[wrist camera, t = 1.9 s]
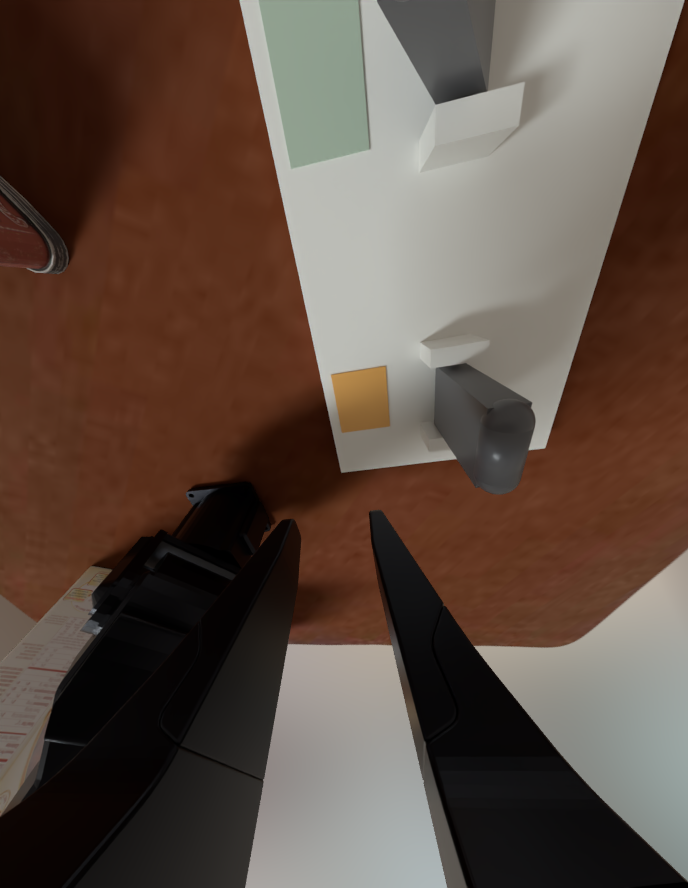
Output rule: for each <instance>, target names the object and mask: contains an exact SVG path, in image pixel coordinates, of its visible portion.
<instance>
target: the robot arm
mask: <svg viewBox="0 0 688 888" xmlns="http://www.w3.org/2000/svg"><path fill="white" fill-rule="evenodd" d="M246 487H247V488H246ZM186 496H187V498H188V499H189V501H190V502H191V504H192V505H193V507H192V508H191V510H190V511H189V512H188V514H187V515H186V516H185V518H184V519H183V521H182V522H181V523H180V525H179V526H178V527H177V529H176V530H175V531H174V533H173V534H172V536H171V535H169V534H167V533H168V532H166V531H164V530H162V529H161V530H160V531H159V532H158V533H157V535H156V536H155V537H153V536H151V537H141V538H140V539H139V540H138V542H137V543H136V544H135V545H134V546H133V547H132V549H131V550H130V551H129V552H128V553H127V554H126V556H125V557H124V558H123V559H122V560H121V561H120V562H119V563H118V565H117V566H116V567H115V568H114V569H113V570H112V571H111V572H110V573H109V575H108V576H107V577H106V578H105V579H104V580H103V581H102V582H101V583H100V585H99V586H98V587H97V588H96V589H95V590H94V592H93V593H92V594H91V596H92V606H93V608H92V610H91V611H90V612H89V613H88V615H91V617H90V618H89V620H88V621H87V622H86V623H85V625H84V626H83V627H82V629H81V630H80V631H82V632H85V633H88V634H93V635H92V636H91V637H90V639H89V640H88V641H87V643H86V644H85V645H84V647H83V648H82V649H81V651H80V652H79V653H78V655H77V656H76V657H75V659H74V661H73V662H72V664H71V666H70V667H69V669H68V671H67V672H66V674H65V676H64V678H63V679H62V681H61V683H60V684H59V686H58V688H57V690H56V693H55V697H54V701H53V705H52V710H51V714H50V717H49V721H48V724H47V728H46V732H45V735H44V745H43V749H42V753H41V758H40V760H39V761H38V763H37V764H36V766H35V767H34V769H33V770H32V771H31V773H30V774H29V776H28V777H27V779H26V780H25V781H24V783H23V784H22V786H21V787H20V789H19V790H18V792H17V793H16V794H15V796H14V797H13V799H12V800H11V802H10V803H9V805H8V806H7V807H6V809H5V810H4V812H3V813H2V815H1V816H0V888H245V885H246V879H247V873H248V867H249V862H250V857H251V851H252V845H253V839H254V833H255V828H256V822H257V817H258V810H259V805H260V800H261V794H262V788H263V779H264V776H265V770H266V764H267V759H268V753H269V747H270V742H271V736H272V730H273V725H274V719H275V713H276V708H277V702H278V696H279V691H280V685H281V679H282V673H283V668H284V662H285V656H286V651H287V645H288V639H289V634H290V628H291V622H292V617H293V611H294V605H295V600H296V594H297V587H298V577H299V562H300V548H301V535H300V532H299V530H298V527H297V524H296V522H295V520H294V519H286V520H282V521H281V522H280V523H279V524H278V525H277V527H276V528H275V529H274V530H273V531H272V533H271V534H270V535H269V536H268V537H267V539H266V540H265V541H264V542H263V544H262V545H261V546H260V547H259V545H260V543H261V540H262V537H263V534H264V532H267V531H269V530H270V528H271V524H270V522H269V518H268V516H267V514H266V511H265V509H264V507H263V505H262V503H261V501H260V500H259V498H258V496H257V494H256V492H255V490H254V488H253V486H252V484H250V483H248V482H243V483H235V484H226V485H218V486H210V487H202V488H193V489H189V490H188V491H187V493H186ZM369 519H370V532H371V542H372V549H373V555H374V561H375V567H376V573H377V579H378V585H379V589H380V594H381V598H382V602H383V607H384V611H385V616H386V620H387V624H388V629H389V633H390V638H391V642H392V646H393V651H394V655H395V659H396V664H397V668H398V672H399V677H400V682H401V686H402V690H403V694H404V699H405V703H406V708H407V712H408V717H409V721H410V725H411V729H412V734H413V739H414V743H415V747H416V752H417V756H418V760H419V765H420V769H421V774H422V778H423V780H424V787H425V791H426V796H427V800H428V805H429V809H430V813H431V818H432V822H433V827H434V831H435V835H436V839H437V844H438V848H439V853H440V857H441V862H442V866H443V871H444V875H445V879H446V884H447V888H688V881H687V880H686V879H685V878H684V877H682V876H681V875H680V874H679V873H678V872H677V871H676V870H675V869H674V868H673V867H672V866H671V865H670V864H669V863H668V862H667V861H666V860H665V859H664V858H663V857H661V856H660V855H659V854H658V853H657V852H656V851H655V850H654V849H653V848H652V847H651V846H650V845H649V844H648V843H647V842H646V841H645V840H644V839H643V838H642V837H641V836H640V835H639V834H637V833H636V832H635V831H634V830H633V829H632V828H631V827H630V826H629V825H628V824H627V823H626V822H625V821H624V820H623V819H622V818H621V817H620V816H619V815H618V814H617V813H616V812H614V811H613V810H612V809H611V808H610V807H609V806H608V805H607V804H606V803H605V802H604V801H603V800H602V799H601V798H600V797H599V796H598V795H597V794H596V793H595V792H594V791H593V790H592V789H591V788H590V787H589V785H588V784H587V783H586V782H585V781H584V780H583V779H582V778H581V777H580V776H579V775H578V773H577V772H576V771H575V770H574V769H573V768H572V767H571V765H570V764H569V763H568V762H567V761H566V760H565V759H564V758H563V756H562V755H561V754H560V753H559V752H558V751H557V749H556V748H555V747H554V746H553V744H552V743H551V742H550V741H549V740H548V738H547V737H546V736H545V735H544V734H543V732H542V731H541V730H540V728H539V727H538V726H537V725H536V724H535V722H534V721H533V720H532V719H531V717H530V716H529V715H528V714H527V712H526V711H525V710H524V709H523V708H522V706H521V705H520V704H519V703H518V701H517V700H516V699H515V698H514V696H513V695H512V694H511V693H510V692H509V690H508V689H507V688H506V687H505V685H504V684H503V683H502V682H501V680H500V679H499V678H498V677H497V676H496V674H495V673H494V672H493V671H492V669H491V668H490V667H489V665H488V664H487V663H486V662H485V660H484V659H483V658H482V656H481V655H480V654H479V653H478V651H477V650H476V649H475V647H474V646H473V645H472V643H471V642H470V641H469V639H468V638H467V636H466V635H465V634H464V632H463V631H462V629H461V628H460V626H459V625H458V624H457V622H456V621H455V619H454V618H453V616H452V615H451V613H450V612H449V610H448V609H447V607H446V606H444V603H443V602H442V600H441V599H440V597H439V596H438V594H437V593H436V591H435V590H434V588H433V587H432V585H431V584H430V582H429V581H428V579H427V578H426V576H425V575H424V573H423V572H422V570H421V569H420V567H419V566H418V564H417V563H416V561H415V560H414V558H413V557H412V555H411V554H410V552H409V551H408V549H407V548H406V546H405V545H404V543H403V542H402V540H401V539H400V537H399V536H398V534H397V533H396V531H395V530H394V528H393V527H392V525H391V524H390V522H389V521H388V519H387V518H386V516H385V515H384V513H383V512H382V511H381V510H373V511H370V512H369ZM251 555H253V556H252V557H251Z"/></svg>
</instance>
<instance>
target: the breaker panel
mask: <svg viewBox="0 0 688 888" xmlns="http://www.w3.org/2000/svg"><path fill="white" fill-rule="evenodd" d="M684 1H685V0H240V4H241V9H242V14H243V18H244V23H245V28H246V32H247V37H248V42H249V46H250V51H251V55H252V60H253V65H254V69H255V74H256V79H257V83H258V88H259V93H260V97H261V102H262V107H263V111H264V116H265V121H266V125H267V130H268V135H269V139H270V144H271V148H272V153H273V158H274V162H275V167H276V172H277V176H278V181H279V186H280V190H281V195H282V200H283V204H284V209H285V214H286V218H287V223H288V227H289V232H290V237H291V241H292V246H293V251H294V255H295V260H296V265H297V269H298V274H299V279H300V283H301V288H302V293H303V297H304V302H305V306H306V311H307V316H308V320H309V325H310V330H311V334H312V339H313V344H314V348H315V353H316V358H317V362H318V367H319V372H320V376H321V381H322V386H323V390H324V395H325V399H326V404H327V409H328V413H329V418H330V423H331V427H332V432H333V437H334V441H335V446H336V451H337V455H338V460H339V465H340V469H341V473H344V472H352V471H360V470H368V469H377V468H385V467H393V466H402V465H410V464H418V463H426V462H435V461H443V460H451V459H457V458H456V457H455V455H454V454H453V452H452V451H451V449H450V448H449V446H448V445H447V443H446V442H445V440H444V439H443V437H442V435H441V434H440V432H439V431H438V429H437V428H436V426H435V425H434V408H435V374H436V368H438V367H444V366H451V365H457V364H463V363H467V364H468V365H470V366H472V367H473V368H475V369H477V370H478V371H480V372H482V373H484V374H485V375H487V376H489V377H490V378H492V379H494V380H495V381H497V382H499V383H500V384H502V385H504V386H506V387H507V388H509V389H511V390H512V391H514V392H516V393H517V394H519V395H521V396H522V397H524V398H526V399H528V400H529V401H531V402H532V406H531V409H532V410H533V412H534V414H535V419H536V423H535V428H534V432H533V435H532V439H531V443H530V447H529V450H534V449H542V448H545V447H546V444H547V441H548V437H549V434H550V431H551V428H552V425H553V421H554V418H555V415H556V412H557V409H558V405H559V402H560V399H561V396H562V392H563V389H564V386H565V383H566V380H567V376H568V373H569V370H570V367H571V364H572V360H573V357H574V354H575V351H576V348H577V344H578V341H579V338H580V335H581V331H582V328H583V325H584V322H585V319H586V315H587V312H588V309H589V306H590V303H591V299H592V296H593V293H594V290H595V287H596V283H597V280H598V277H599V274H600V270H601V267H602V264H603V261H604V258H605V254H606V251H607V248H608V245H609V242H610V238H611V235H612V232H613V229H614V226H615V222H616V219H617V216H618V213H619V209H620V206H621V203H622V200H623V197H624V193H625V190H626V187H627V184H628V181H629V177H630V174H631V171H632V168H633V165H634V161H635V158H636V155H637V152H638V148H639V145H640V142H641V139H642V136H643V132H644V129H645V126H646V123H647V120H648V116H649V113H650V110H651V107H652V104H653V100H654V97H655V94H656V91H657V87H658V84H659V81H660V78H661V75H662V71H663V68H664V65H665V62H666V59H667V55H668V52H669V49H670V46H671V42H672V39H673V36H674V33H675V30H676V26H677V23H678V20H679V17H680V14H681V10H682V7H683V4H684Z"/></svg>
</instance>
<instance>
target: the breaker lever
mask: <svg viewBox="0 0 688 888" xmlns="http://www.w3.org/2000/svg"><path fill="white" fill-rule="evenodd" d="M531 406H532V402H531V401H529V400H528V399H526V398H524V397H522V396H521V395H519V394H517V393H516V392H514V391H512V390H511V389H509V388H507V387H506V386H504V385H502V384H500V383H499V382H497V381H495V380H494V379H492V378H490V377H489V376H487V375H485V374H484V373H482V372H480V371H478V370H477V369H475V368H473V367H472V366H470V365H468V364H467V363H463V364H457V365H451V366H444V367H438V368H436V374H435V408H434V425H435V426H436V428H437V429H438V431H439V432H440V434H441V435H442V437H443V439H444V440H445V442H446V443H447V445H448V446H449V448H450V449H451V451H452V452H453V454H454V455H455V457H456V458H457V460H458V461H459V463H460V464H461V466H462V467H463V469H464V471H465V472H466V474H467V475H468V477H469V478H470V480H471V481H472V483H473V484H474V486H475V487H476V488H477V487H481V488H482V489H483V490H484V491H486V492H489V493H492V494H505V493H509V492H511V491H512V490H514V489H515V488H516V487H517V486H518V484H519V482H520V480H521V476H522V472H523V469H524V465H525V461H526V458H527V454H528V450H529V447H530V443H531V439H532V435H533V432H534V428H535V423H536V419H535V414H534V412H533V410H532V409H531Z"/></svg>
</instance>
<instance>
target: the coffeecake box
mask: <svg viewBox="0 0 688 888" xmlns="http://www.w3.org/2000/svg"><path fill="white" fill-rule="evenodd" d="M111 571H112V570H111V569H106V568H101V567H95V566H91V567H90V568H89V569H88V570H87V571H86V572H85V573H84V574H83V575H82V576H81V577H80V578H79V579H78V580H77V581H76V583H75V584H74V585H73V586H72V587H71V588H70V589H69V590H68V591H67V592H66V593H65V594H64V595H63V596H62V597H61V598H60V600H59V601H58V602H57V603H56V604H55V605H54V606H53V607H52V608H51V609H50V610H49V611H48V612H47V613H46V614H45V615H44V617H43V618H42V619H41V620H40V621H39V622H38V623H37V624H36V625H35V626H34V627H33V628H32V629H31V630H30V631H29V633H28V634H27V635H26V636H25V637H24V638H23V639H22V640H21V641H20V642H19V643H18V644H17V645H16V646H15V647H14V648H13V650H11V652H10V653H9V654H8V655H7V656H6V657H5V658H4V659H3V660H2V661H1V662H0V816H1V815H2V813H3V812H4V810H5V809H6V807H7V806H8V805H9V803H10V802H11V800H12V799H13V797H14V796H15V794H16V793H17V792H18V790H19V789H20V787H21V786H22V784H23V783H24V781H25V780H26V779H27V777H28V776H29V774H30V773H31V771H32V770H33V769H34V767H35V766H36V764H37V763H38V761H39V760H40V758H41V753H42V749H43V745H44V735H45V732H46V728H47V724H48V721H49V717H50V714H51V710H52V705H53V701H54V697H55V693H56V690H57V688H58V686H59V684H60V683H61V681H62V679H63V678H64V676H65V674H66V672H67V671H68V669H69V667H70V666H71V664H72V662H73V661H74V659H75V657H76V656H77V655H78V653H79V652H80V651H81V649H82V648H83V647H84V645H85V644H86V643H87V641H88V640H89V639H90V637H91V636H92V635H93V634H88V633H85V632H82V631H80V630H81V629H82V627H83V626H84V625H85V623H86V622H87V621H88V620H89V618H90V617H91V615H88V613H89V612H90V611H91V610H92V608H93V606H92V596H91V594H92V593H93V592H94V590H95V589H96V588H97V587H98V586H99V585H100V583H101V582H102V581H103V580H104V579H105V578H106V577H107V576H108V575H109V573H110V572H111Z"/></svg>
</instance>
